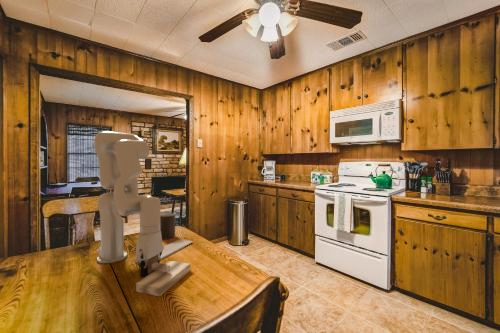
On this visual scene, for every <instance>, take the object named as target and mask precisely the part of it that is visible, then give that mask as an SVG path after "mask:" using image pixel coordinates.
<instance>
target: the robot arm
mask: <svg viewBox="0 0 500 333" xmlns="http://www.w3.org/2000/svg"><path fill="white" fill-rule="evenodd" d="M94 136H95V137H94V139H93V146H94V151H95V154H96V156H97V158H98V166H99V168H98V169H99V181H100V186H101V187H102V188H103V189H104V190H113V191H108V192H106V193H105V192H104V193H102V194H101V195H100V196H99V197H98V199H97V207H98V211H99V218H100V219H99V220H100V226H99V228H100V246H99V247H98V249H96V250H95V253H97V254H98V256H97V258H96V262H97V263H98V264H112V263H117V262H120V261H123V260H124V259H126V258H127V257H128V252H127V251H125V250H124V249H125V246H124V242H125V239H124V230H125V229H124V228H125V227H124V218H123V217H122V216H124V217H128V216H134V215H139V233H138V236H137V239H136V240H137V241H136V250H135V253H136V254H135V259H134V260H135V261H134V264H135V265H136V266H138V267H139V268H140V269H139V271H140V272H139V273H140V275H139V277H140V278H142V277H144V278H145V277H146V276H148V267H147V264H148V260H149V259H151V258H152V257H154V256H156V255H158V263H160V262H161V260H160V259H161V257H160V256H161V254H162V251H163V249H164V246H163V239H162V236H161V230H160V214H161V199H160V198H159V197H158V196H157V197H156V196H152V195H150V194H140V195H139V183H138V177H139V176H140V175H141V174H142V172H143V169H142V166H141V162H140V160H141V159H142V160H143V159H147V158H148V157H149V156H150V147H149V145H148V143H147V142H146V141H145V140H144V139H143V138H141V137H139V136H138V135H136V134H135V133H128V132H127V133H126V132H117V131H101V132H98V133H96V135H94ZM143 261H145V263H143Z"/></svg>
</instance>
